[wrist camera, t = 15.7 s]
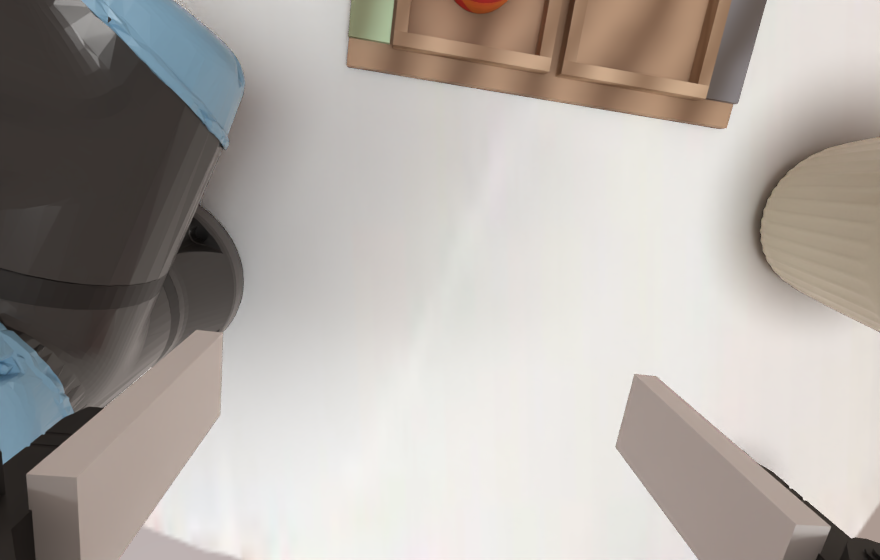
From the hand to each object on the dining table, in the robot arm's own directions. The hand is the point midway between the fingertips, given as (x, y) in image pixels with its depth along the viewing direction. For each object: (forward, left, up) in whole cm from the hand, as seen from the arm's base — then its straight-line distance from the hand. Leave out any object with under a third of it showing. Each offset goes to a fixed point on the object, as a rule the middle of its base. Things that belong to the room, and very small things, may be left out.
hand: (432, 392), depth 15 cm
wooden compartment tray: (+9, +21, -29) cm, 37 cm away
